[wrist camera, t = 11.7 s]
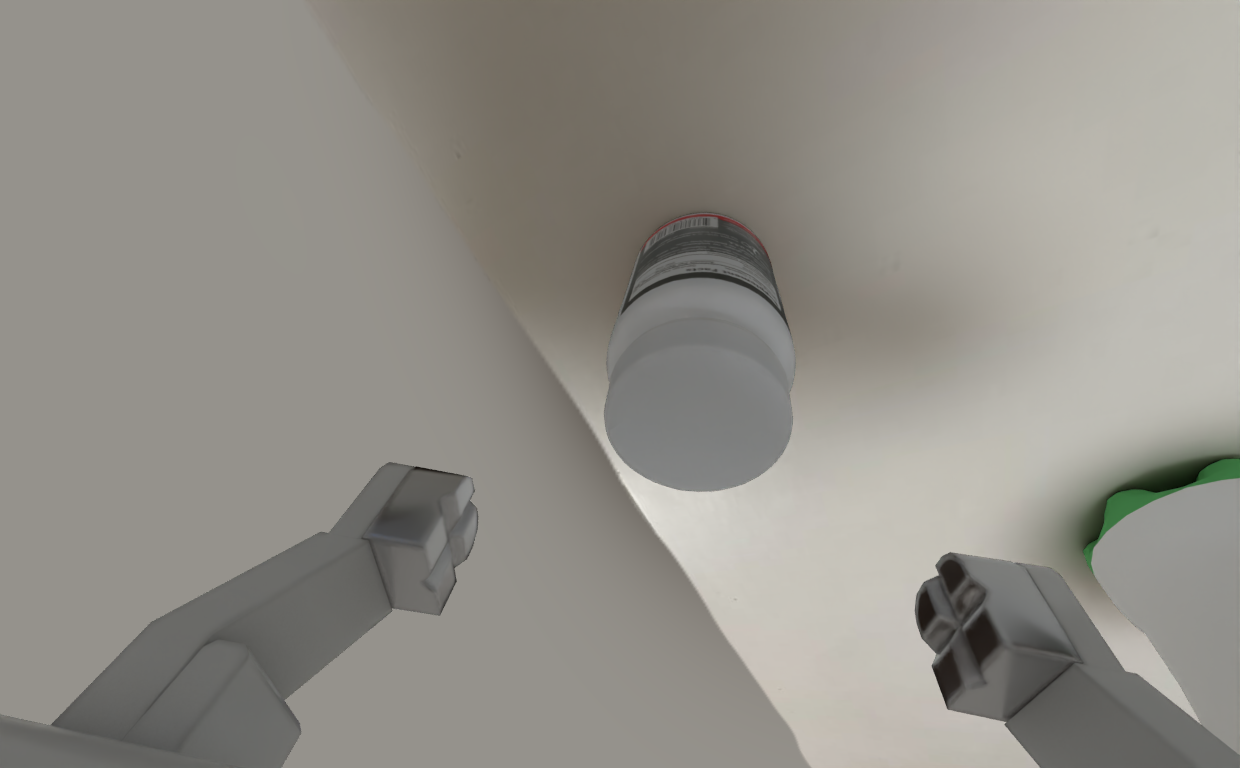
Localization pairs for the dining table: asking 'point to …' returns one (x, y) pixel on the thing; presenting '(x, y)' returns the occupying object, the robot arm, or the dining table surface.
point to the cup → (1182, 584)
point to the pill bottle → (700, 359)
